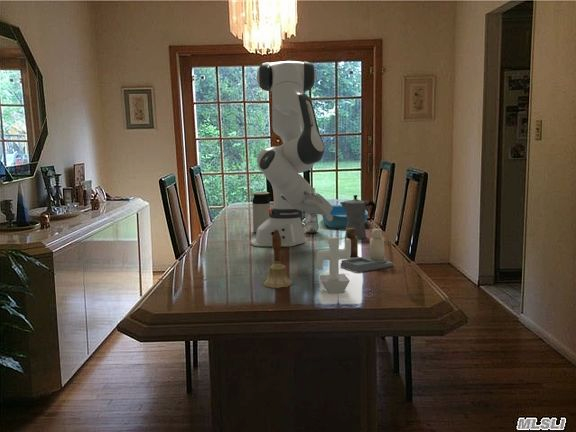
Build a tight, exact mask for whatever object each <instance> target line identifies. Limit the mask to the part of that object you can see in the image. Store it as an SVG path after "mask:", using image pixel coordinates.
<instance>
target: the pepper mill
mask: <svg viewBox="0 0 576 432" xmlns="http://www.w3.org/2000/svg"><path fill="white" fill-rule="evenodd" d="M347 238H348V239H350V240H351V256H350V258H349V259H353V258H359V250H358V249H359V247H358V245H359V243H358V242H359V241H358V240H359V239H358V237H357V236H355V228H347V236H345V235H344V240H345V239H347Z"/></svg>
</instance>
